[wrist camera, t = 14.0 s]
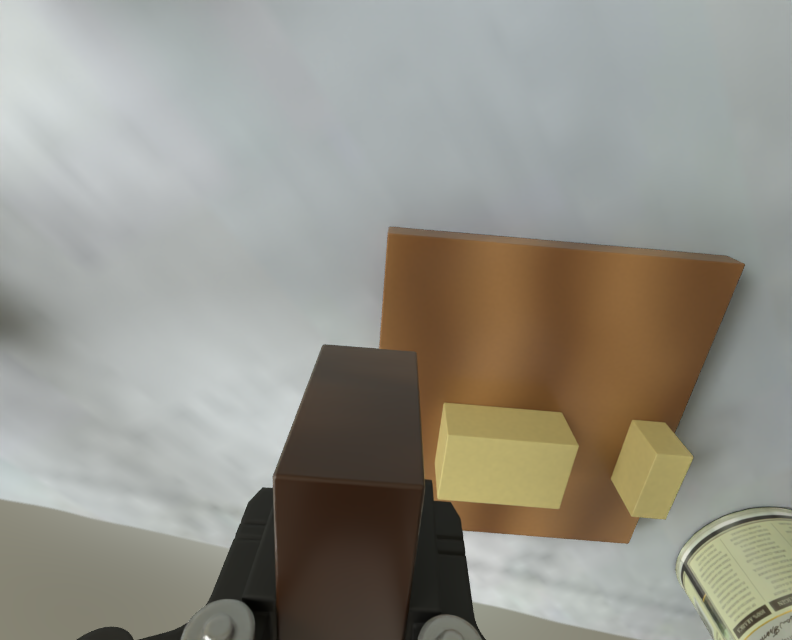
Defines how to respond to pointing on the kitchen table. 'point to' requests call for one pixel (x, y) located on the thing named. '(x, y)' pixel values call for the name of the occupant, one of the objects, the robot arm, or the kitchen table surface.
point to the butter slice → (650, 469)
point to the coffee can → (742, 574)
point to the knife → (350, 499)
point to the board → (553, 350)
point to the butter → (503, 456)
